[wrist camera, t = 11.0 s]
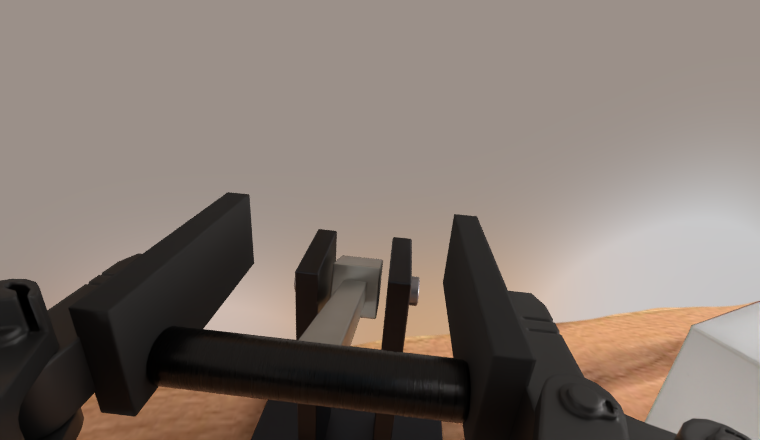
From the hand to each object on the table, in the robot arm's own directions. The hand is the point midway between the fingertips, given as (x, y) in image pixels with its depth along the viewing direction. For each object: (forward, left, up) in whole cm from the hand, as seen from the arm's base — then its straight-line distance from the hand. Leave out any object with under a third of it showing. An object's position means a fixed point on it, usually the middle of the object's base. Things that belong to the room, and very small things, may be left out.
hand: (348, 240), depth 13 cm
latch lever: (0, +1, -4) cm, 4 cm away
